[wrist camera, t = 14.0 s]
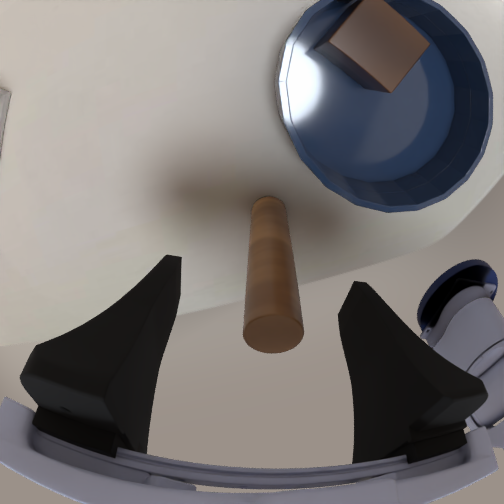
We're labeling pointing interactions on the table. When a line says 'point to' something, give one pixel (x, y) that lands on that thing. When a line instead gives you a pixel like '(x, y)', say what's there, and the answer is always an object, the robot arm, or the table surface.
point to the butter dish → (3, 111)
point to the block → (373, 45)
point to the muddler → (271, 282)
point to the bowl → (387, 112)
